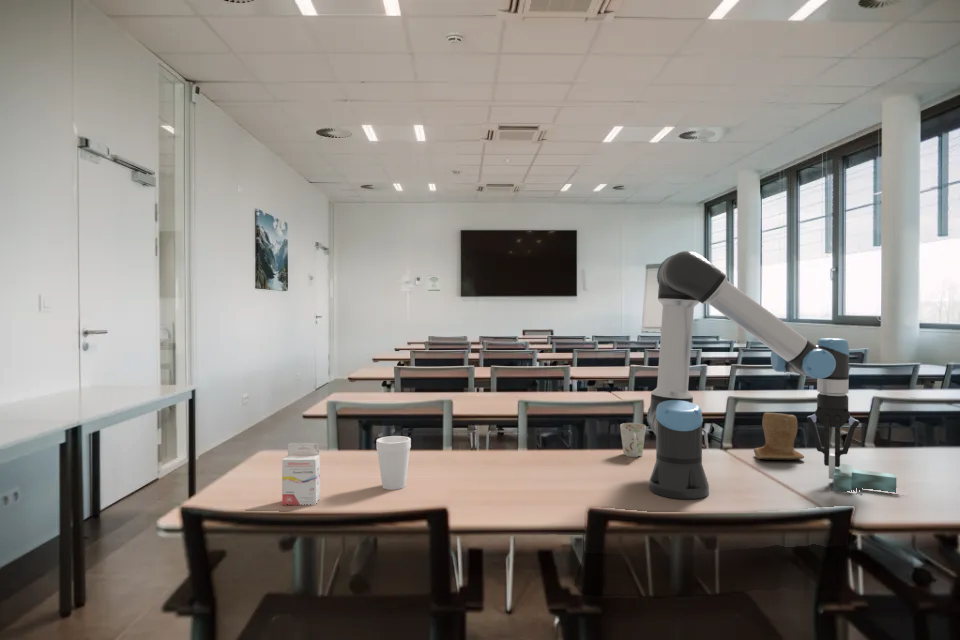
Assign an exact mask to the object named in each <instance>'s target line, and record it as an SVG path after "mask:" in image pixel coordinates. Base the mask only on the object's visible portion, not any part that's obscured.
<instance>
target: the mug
mask: <svg viewBox="0 0 960 640" xmlns="http://www.w3.org/2000/svg"><path fill="white" fill-rule="evenodd" d="M619 427H620V429H619V430H620V436H621V437H620V438H621V444H622V452H623V455H624V456H625V455H626V457H628V456H630V458H639V457H638V456H641V457H642V456H643V452H644V444H645V438H646V431H647V429H646V428H647V426H646V424H644V423H643V424H642V423H638V422H637V423H636V422H625V423H624V422H623V423H621V424H620V425H619Z"/></svg>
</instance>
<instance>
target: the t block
mask: <svg viewBox="0 0 960 640" xmlns="http://www.w3.org/2000/svg"><path fill="white" fill-rule="evenodd" d="M852 487H855V488H863V489H873V490H881V491H888V492H895V493H896V488H897V474H895V473H890V472H889V473H888V472H879V471H878V472H877V471H870V470H861V469H855V468H853V465H852V464H848V463H847V464H846V463H840V466H839V467H835V471H834V489H835V490H842V491H850V492H851V490H852Z"/></svg>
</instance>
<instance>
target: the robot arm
mask: <svg viewBox="0 0 960 640" xmlns="http://www.w3.org/2000/svg"><path fill="white" fill-rule="evenodd" d="M656 279H657V283H658V291H657V292H658V293H657V300H658V302H660V304H661V305H662V313H661V328H660V341H659V342H660V343H659V352H658V353H659V356H658V367H657V368H658V369H657V383H656V388H654V389H653V390H652V391H651V394H650V404H649V408H648V410H647V414H646V415H647V417H646V418H647V419H646V421H647V424H648V426H649V429H650V430H651V432H652V433H653V434H654V435H655V439H656V440H655V441H656V442H655V443H656V444H655V451H656V452H655V453H656V454H655V455H656V457H655V458H656V459H655V463H654V467H653V469H652V472H651V475H650V478H649V490H650V491H651V492H652V493H654V494H655V495H656V494H657V495H658V496H661V497H666V498H670V499H678V500H697V499H703V498H706V497H707V496H709V494H710V484H709V481H708V478H707V475H706V473H705V469H704V467H703V466H704V465H703V422H704V420H703V419H704V418H703V412H702V408H701V407H700V405H698V404H697V403H694V396H693V394H692V393H691V392H690V391H689V380H690V366H691V353H692V339H693V326H694V311H695V307H696V306H697V305H699V303H701V304H702V305H704V304H708V305H710V306H711V307H712V308H713V309H715V310H717V311H718V312H719V313H721V314H722V315H723V316H725V317H726V318H727V319H729V320H730V321H732V322H733V323H734V324H736V325H737V326H739V327H740V328H741V329H742V330H744V331H745V332H747V333H748V334H749V335H751V336H752V337H753V338H754V339H756V340H757V341H759V342H760V343H762V344H763V345H764V346H765V347H767V348H768V349H770V350H771V352H770V353H771V354H770V364H771V367H772V369H773V370H774V371H775V372H776V373H777V372H778V373H794V374H798V375H802V376H806V377H808V378H810V379H817V380H816V385H817V387H816V391H817V392H818V394H817V396H816V410H815V411H814V414H812V415H808V416H807V417H806V421H807V422H808V424H809V425H810V428H811V433H812V437H813V441H814V444H815V447H816V448H815V449H816V451H817V452H820V453H822V454H823V456H824V457H823V464H824V466H825V467H828V479H831V480H833V479H834V471H835V467H839V466H840V464H841V456H842V455H847V454H848V452H849V449H850V446H851V443H852V439H853V436H854V432H855V430H856V428H858V426H859V425H860V421H859V420H858V419H855V418H854V417H852V416H851V413H850V411H849V396H848V394H849V381H850V380H849V367H850V365H849V364H850V363H849V362H850V348H849V342H848V341H847V339H845V338H834V337H833V338H832V337H827V338H826V337H825V338H823V337H822V338H819V339H818V340H817V343H816V345H815V344H814V343H812V342H811V341H810V340H808V339H807V338H806V337H804V336H803V335H802V334H800V333H799V332H797V331H796V330H794V329H793V328H792V327H791V326H789V325H788V324H786V322H784V321H783V320H781V319H780V318H778V317H777V316H776V315H775V314H774V313H771V311H769V310H768V309H766V308H765V307H763V305H761V304H760V303H758V301H757V302H756V300H754V299H753V298H751V297H750V296H749V295H747V294H746V293H745V292H743V291H742V290H740V289H739V288H738V287H737V286H735V285H734V284H732V283H731V282H730V281H728V275H727V274H726V273H724V272H723V271H721V270H720V268H718V267H717V266H715V265H714V264H713V263H711V262H710V261H709V260H708V259H707V258H705V257H704V256H703V255H701V254H699V253H697V252H695V251H692V250H691V251H690V250H686V251H683V250H682V251H680V252H677V253H674V254H672V255H671V256H669V257H667V258H665V259H664V260H663V261H662V262H661V264H660V265H659V267H658V270H657V273H656ZM817 419H818V421H819V422H820V423H821V424H822V426H823V428H824V429H823V430H824V432H823V433H824V435H823V440H824V441H823V442H824V443H823V445H824V446H822V443H821V439H820V434H819V431H818V427H817V424H816V422H817ZM847 422H848V425H849V427H848V431H847V435H846V438H845V441H844V444H843V447H842V448H841V428H842V427H843V426H844V425H845V424H846V423H847ZM831 428H834V453H831V452H830V449H831V448H830V445H831V444H830V441H831V440H830V435H831V434H830V432H831V431H830V429H831Z"/></svg>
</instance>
